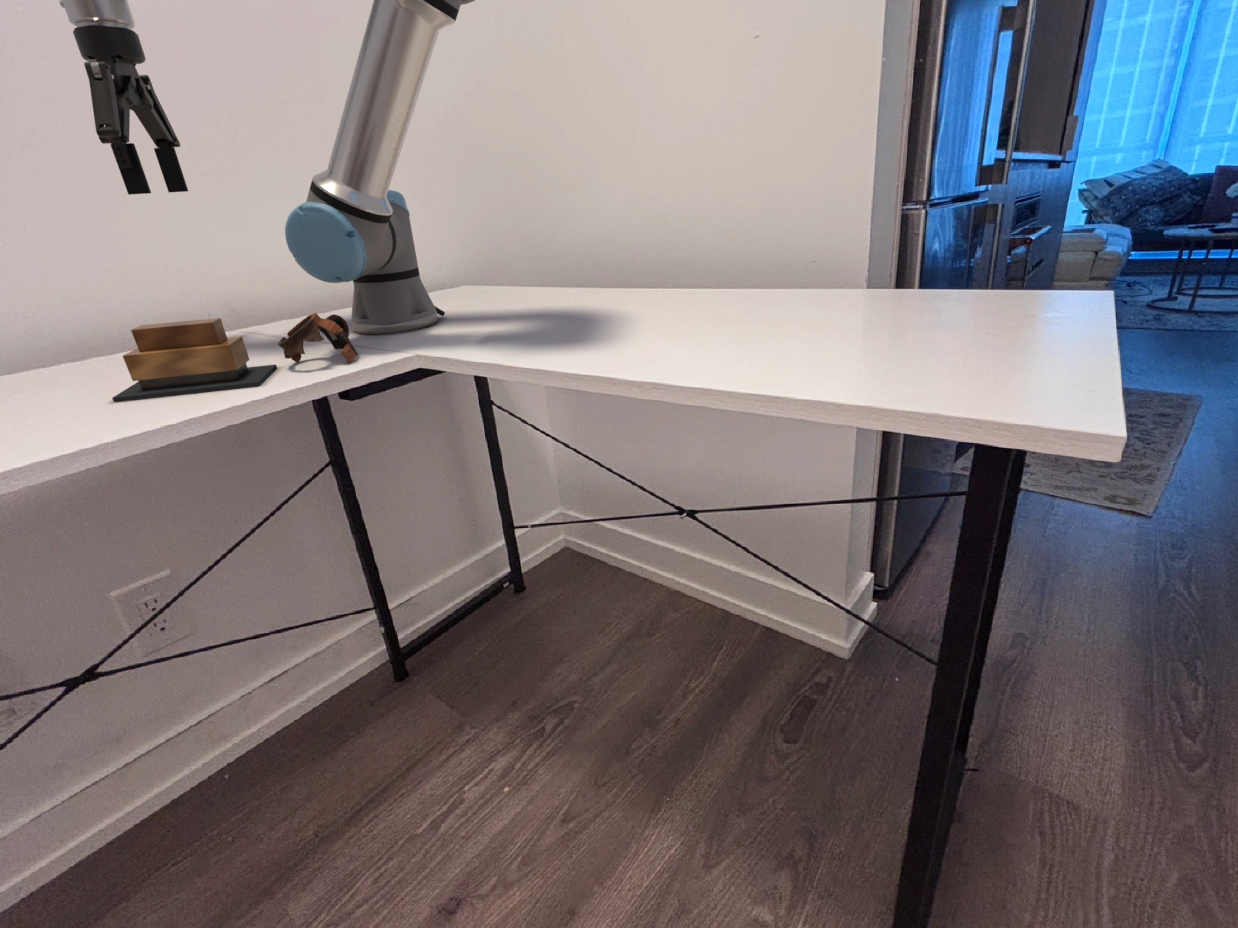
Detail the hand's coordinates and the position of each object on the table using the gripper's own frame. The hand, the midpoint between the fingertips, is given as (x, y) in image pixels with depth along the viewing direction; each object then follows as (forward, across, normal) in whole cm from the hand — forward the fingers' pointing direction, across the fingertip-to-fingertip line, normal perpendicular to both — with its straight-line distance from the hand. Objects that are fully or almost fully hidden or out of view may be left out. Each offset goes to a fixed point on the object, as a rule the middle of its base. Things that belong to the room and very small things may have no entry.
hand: (160, 193), depth 97 cm
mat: (+25, +23, +6) cm, 34 cm away
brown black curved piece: (+25, +17, +22) cm, 37 cm away
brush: (+24, +23, +6) cm, 34 cm away
